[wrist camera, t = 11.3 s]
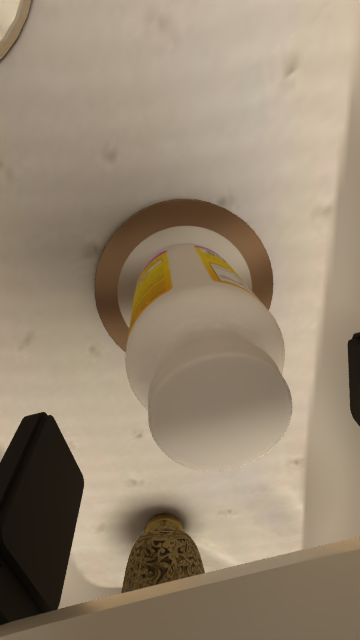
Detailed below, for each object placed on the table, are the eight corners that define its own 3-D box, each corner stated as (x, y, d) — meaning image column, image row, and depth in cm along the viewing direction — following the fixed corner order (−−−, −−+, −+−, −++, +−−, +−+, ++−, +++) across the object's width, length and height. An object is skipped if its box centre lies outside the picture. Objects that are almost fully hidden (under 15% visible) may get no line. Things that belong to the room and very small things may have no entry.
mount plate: (73, 225, 22) (66, 228, 21) (252, 178, 22) (260, 177, 20) (127, 377, 27) (125, 389, 25) (276, 340, 26) (284, 350, 25)
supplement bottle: (142, 341, 24) (129, 504, 12) (129, 246, 21) (95, 336, 9) (236, 332, 24) (314, 482, 12) (235, 237, 21) (333, 312, 10)
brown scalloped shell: (163, 484, 31) (165, 577, 24) (216, 520, 34) (233, 616, 26) (109, 527, 33) (96, 626, 26) (164, 559, 35) (166, 659, 28)
